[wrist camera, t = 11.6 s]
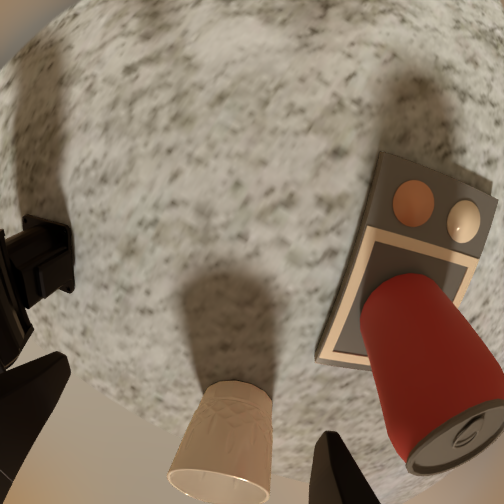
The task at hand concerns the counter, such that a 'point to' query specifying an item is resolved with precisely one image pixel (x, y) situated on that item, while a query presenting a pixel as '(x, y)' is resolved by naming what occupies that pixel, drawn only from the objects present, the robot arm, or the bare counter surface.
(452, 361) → the beer can
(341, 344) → the slate card
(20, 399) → the robot arm
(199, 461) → the white cup
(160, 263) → the counter surface
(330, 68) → the counter surface
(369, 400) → the counter surface
